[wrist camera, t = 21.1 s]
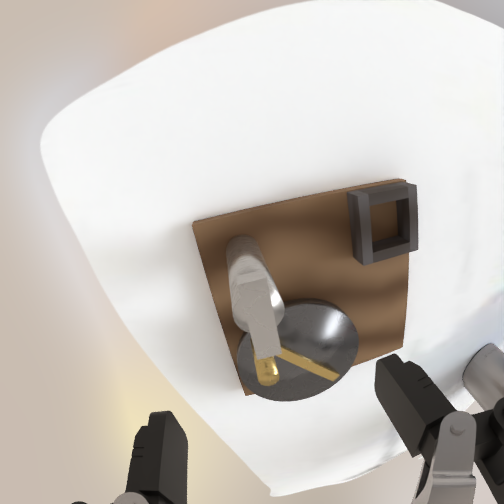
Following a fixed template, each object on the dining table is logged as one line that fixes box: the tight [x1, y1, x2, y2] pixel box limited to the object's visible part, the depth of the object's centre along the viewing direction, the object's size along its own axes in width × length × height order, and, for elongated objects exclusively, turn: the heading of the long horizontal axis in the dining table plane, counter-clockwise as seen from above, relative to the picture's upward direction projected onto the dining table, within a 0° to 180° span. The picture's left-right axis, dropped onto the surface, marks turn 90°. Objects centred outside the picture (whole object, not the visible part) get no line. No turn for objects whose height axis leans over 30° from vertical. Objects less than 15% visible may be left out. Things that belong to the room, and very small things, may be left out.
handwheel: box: [237, 298, 359, 401], centre depth 25 cm, size 12×12×6 cm
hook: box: [226, 235, 285, 360], centre depth 20 cm, size 5×3×11 cm, turn 12°
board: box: [192, 179, 418, 396], centre depth 27 cm, size 20×20×3 cm
